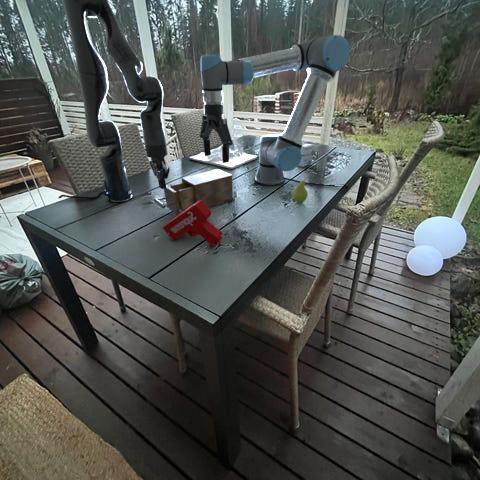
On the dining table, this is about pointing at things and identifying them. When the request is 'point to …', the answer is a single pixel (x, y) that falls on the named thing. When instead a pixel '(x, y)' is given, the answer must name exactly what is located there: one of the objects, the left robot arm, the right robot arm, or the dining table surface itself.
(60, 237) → the dining table surface
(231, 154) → the relief map
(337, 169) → the dining table surface
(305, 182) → the right robot arm
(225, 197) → the wooden drawer box
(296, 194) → the fruit
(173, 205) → the drawer
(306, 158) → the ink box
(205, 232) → the toy gun
